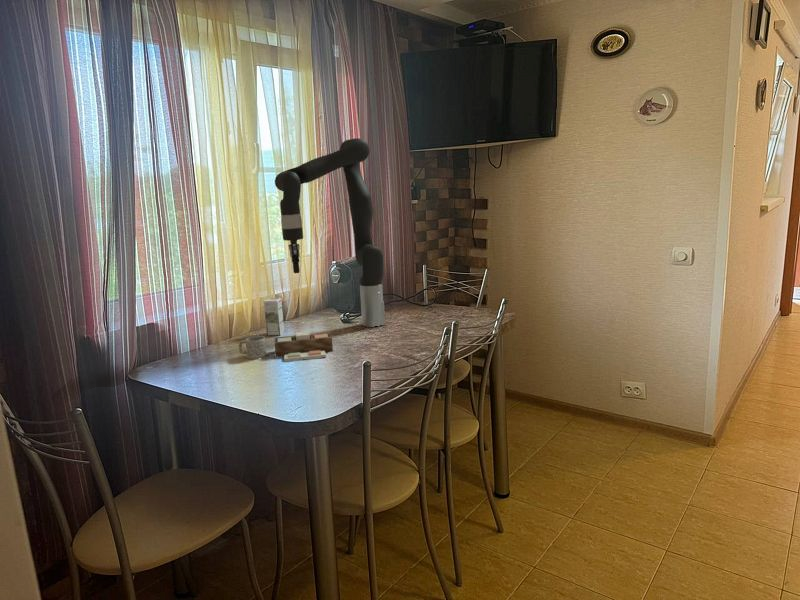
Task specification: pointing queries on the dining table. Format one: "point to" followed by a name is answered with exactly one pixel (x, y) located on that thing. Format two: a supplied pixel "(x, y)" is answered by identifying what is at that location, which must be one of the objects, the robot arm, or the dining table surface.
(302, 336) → the grey key
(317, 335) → the terracotta key
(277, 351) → the brown wooden frame
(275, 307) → the syrup box
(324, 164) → the robot arm
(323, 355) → the card
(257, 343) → the mug
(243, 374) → the dining table surface
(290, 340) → the sage key
